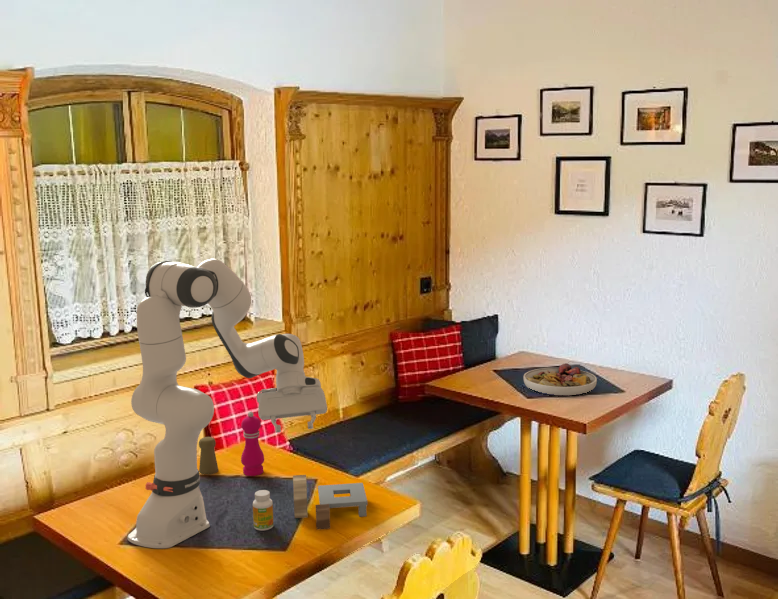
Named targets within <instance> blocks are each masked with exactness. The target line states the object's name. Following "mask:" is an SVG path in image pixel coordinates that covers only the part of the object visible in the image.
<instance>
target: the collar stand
mask: <svg viewBox="0 0 778 599" xmlns="http://www.w3.org/2000/svg"><path fill="white" fill-rule="evenodd" d="M365 490H366V489H365V487H364V484H363V482H356V483H342V484H341V483H339V484H326V485H325V484H324V485H322V484H321V485H318V486H317V491H318V502H319V505H321V504H329V508H330V509H333V508H337V509H338V508H349V507H350V508H351V507H358V516H359V517H367V506H368V499H367V498H368V497H367V495H366V491H365ZM343 494H344V495H345V494H346V495H347V494H349V496H335V495H343Z"/></svg>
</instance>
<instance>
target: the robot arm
mask: <svg viewBox="0 0 778 599" xmlns="http://www.w3.org/2000/svg"><path fill="white" fill-rule="evenodd" d="M144 295H145V296H146V297H145V298H143V299H142V300H141V301H140V302H139V303H138V305H137V307H136V308H137V309H136V329H137V338H138V342H139V349H140V356H141V360H142V361H141V363H142V377H141V381H140V383H139V384H138V385H137V387H135V389H134V390H133V392H132V395H131V402H130V404H131V408H132V411H133V412H134V413H135V414H136V415H137V416H139V417H141V418H143V419H144V420H145V421H148V422H152V423H156V424H160V425H164V427H165V435H164V438H163V439H161V440H160V441H159V442H158V443H157V444H156V445H155V447H154V450H153V453H154V454H153V455H154V469H155V474H154V476H153V480H152V482H146V484H145V486H144V488H145V490H147V491H151V493H150V495H149V496H148V498H147V500H146V501H145V503H144V504H143V506H142V508H141V509H140V511H139V512H138V514H137V516H136V524H135V525H136V527H135V528H134V529H133V530H132V531H131V532H130V533H129V534H128V535H127V539H126V540H128V542H130V543H131V544H132V545H136V546H139V547H140V546H141V547H145V548H152V549H169V548H172V547H174V546H175V545H178V544H179V543H181V542H183V541H186V540H187V539H189V538H190V537H193V536H195V535H196V534H198V533H200V532H202V531H204V530H207V529H208V528H210V526H211V525H210V522H209V520H208V519H207V514H206V507H205V502H204V497H203V494H202V492H201V489H200V483H201V480H200V479H201V475H200V473H199V469H198V456H197V455H198V453H197V452H198V451H197V449H198V448H197V446H198V442H199V441H198V440H199V437H200V434H201V432H202V430H204V428H206V427H207V426H208V425H209V424H210V422H211V421H212V420H213V417H214V413H215V404H214V401H213V399H212V397H211V396H210V395H208V394H207V393H204V392H203V391H201V390H199V389H196V388H193V387H188V386H185V385H184V386H183V385H179V384H178V381H177V376H178V375H177V374H178V372H179V371H180V370H181V369H182V368H183V367H184V366H185V364H186V361H187V357H186V348H185V343H184V337H183V331H182V326H181V322H180V315H181V310H182V309H183V308H182V307H187V308H194V309H195V308H201V307H204V306H206V305H207V304H208V305H209V307H210V308H211V310H212V313H211V323H212V326H213V329H214V330H215V333H216V334H217V337H218V338H219V340H220V341H221V343H222V344H223V346H224V348H225V350H226V352H227V353H228V355H229V357H230V359H231V361H232V364H233V366H234V369H235V370H236V372H237V374H239V375H241V376H243V377H244V378H246V379H252V378H254V377H258V376H259V375H261V374H264V373H267V372H270V371H273V370H276V375H275V384H276V387H273V388H272V387H271V388H267V389H266V388H264V389H261V390H260V391H258V392H257V394H256V401H257V403H258V407H257V408H258V410H257V412H258V418H259V420H261V421H269V420H270V421H271V423H272V425H273V426H274V430H275V433H276V434H277V433H281V432H282V430H281V428H282V427H281V424H277V420H279V419H285V418H295V417H304V416H310V417H311V419H310V421H307V429H308V430H312V429H314V423H315V420H316V418H317V415H321V414H322V415H323V414H326V413H327V412H328V404H327V399H326V395H325V392H324V389H323V388H322V383H321V381H320V379H319V378H317V377H316V378H315V377H311V376H306V374H305V370H304V368H305V358H304V357H305V356H304V351H303V347H302V343H301V340H300V338H299V336H297V335H295V334H292V333H282V334H280V333H278V334H273V335H270V336H267V337H265V338H263V339H259V340H256V341H253V342H245V341H242V338H241V337H240V335H239V332H238V331H237V330H236V328H235V326H236V325H237V324H238V323H240V322H241V321H243V319H244V318H245V317H246V315H247V314H248V312H249V310H250V308H251V306H252V296H251V292H250V291H249V289H248V287H247V286H246V285H245V283H244V282H243V280H241V279H240V277H239V276H238V275H237V274H236V273H235V272H234V271H233V269H231V268H230V267H229V266H228V265H226V264H225V263H224V262H223V261H222V260H220V259H217V258H210V259H209V258H208V259H205V260H204V261H202V262H200V263H199V264H198V266H194V265H191V264H188V263H185V262H179V261H172V260H171V261H170V260H164V261H159V262H156V263H154V264H152V265H151V266H150V268H149V269H148V271H147V274H146V277H145V288H144Z"/></svg>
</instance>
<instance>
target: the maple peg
mask: <svg viewBox="0 0 778 599" xmlns="http://www.w3.org/2000/svg"><path fill="white" fill-rule="evenodd" d="M292 483H293V485H292V486H293V506H294V507H293V510H294V512H293V513H294V519H300V518H301V519H303V518H309V517H308V514H309V513H308V487H307V484H308V483H307V474H299V475H297V474H296V475H292Z"/></svg>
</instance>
